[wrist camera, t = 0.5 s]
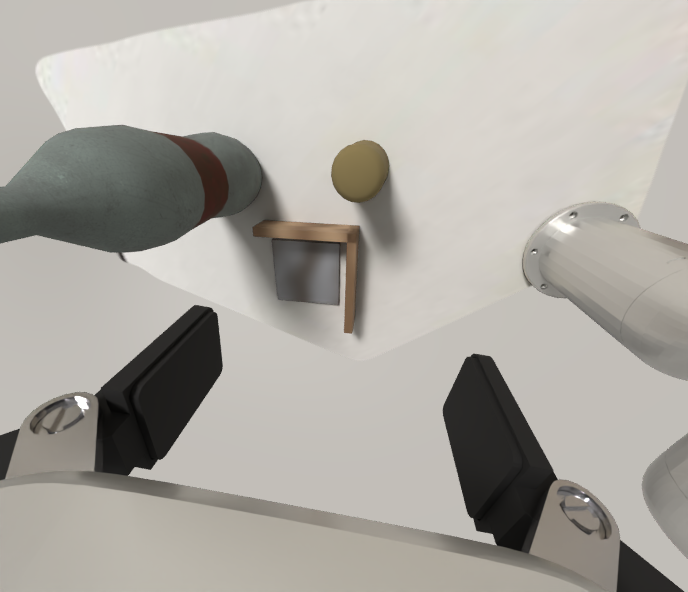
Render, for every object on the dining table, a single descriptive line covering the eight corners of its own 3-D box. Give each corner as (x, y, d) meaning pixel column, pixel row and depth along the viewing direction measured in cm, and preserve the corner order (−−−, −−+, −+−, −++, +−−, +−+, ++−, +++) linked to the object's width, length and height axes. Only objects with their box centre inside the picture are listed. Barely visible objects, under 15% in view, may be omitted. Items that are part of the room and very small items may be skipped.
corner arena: (359, 225, 38) (356, 233, 35) (354, 319, 46) (351, 333, 42) (264, 220, 40) (252, 227, 36) (274, 311, 47) (265, 324, 43)
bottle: (207, 119, 34) (-357, 33, 8) (275, 154, 35) (-42, 177, 9) (195, 191, 39) (-194, 282, 13) (256, 220, 40) (6, 362, 14)
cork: (371, 202, 36) (365, 222, 27) (332, 175, 36) (312, 186, 26) (399, 159, 34) (404, 164, 24) (357, 129, 33) (345, 121, 23)
